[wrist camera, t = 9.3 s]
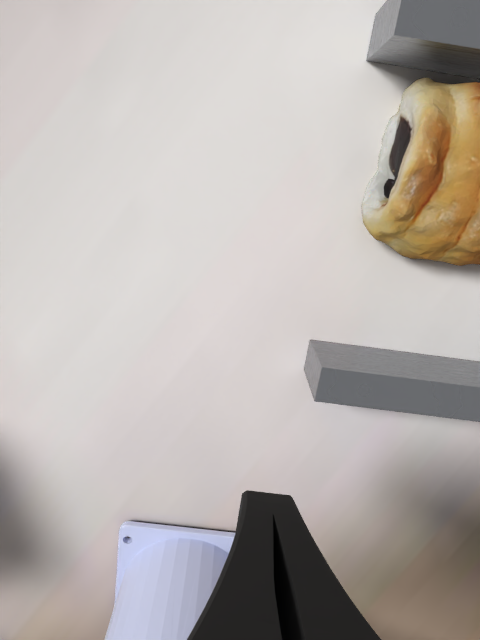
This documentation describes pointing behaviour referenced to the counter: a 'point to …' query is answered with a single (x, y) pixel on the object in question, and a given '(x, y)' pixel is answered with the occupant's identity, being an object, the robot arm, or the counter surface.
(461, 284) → the counter surface
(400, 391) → the grey tray
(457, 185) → the pastry
